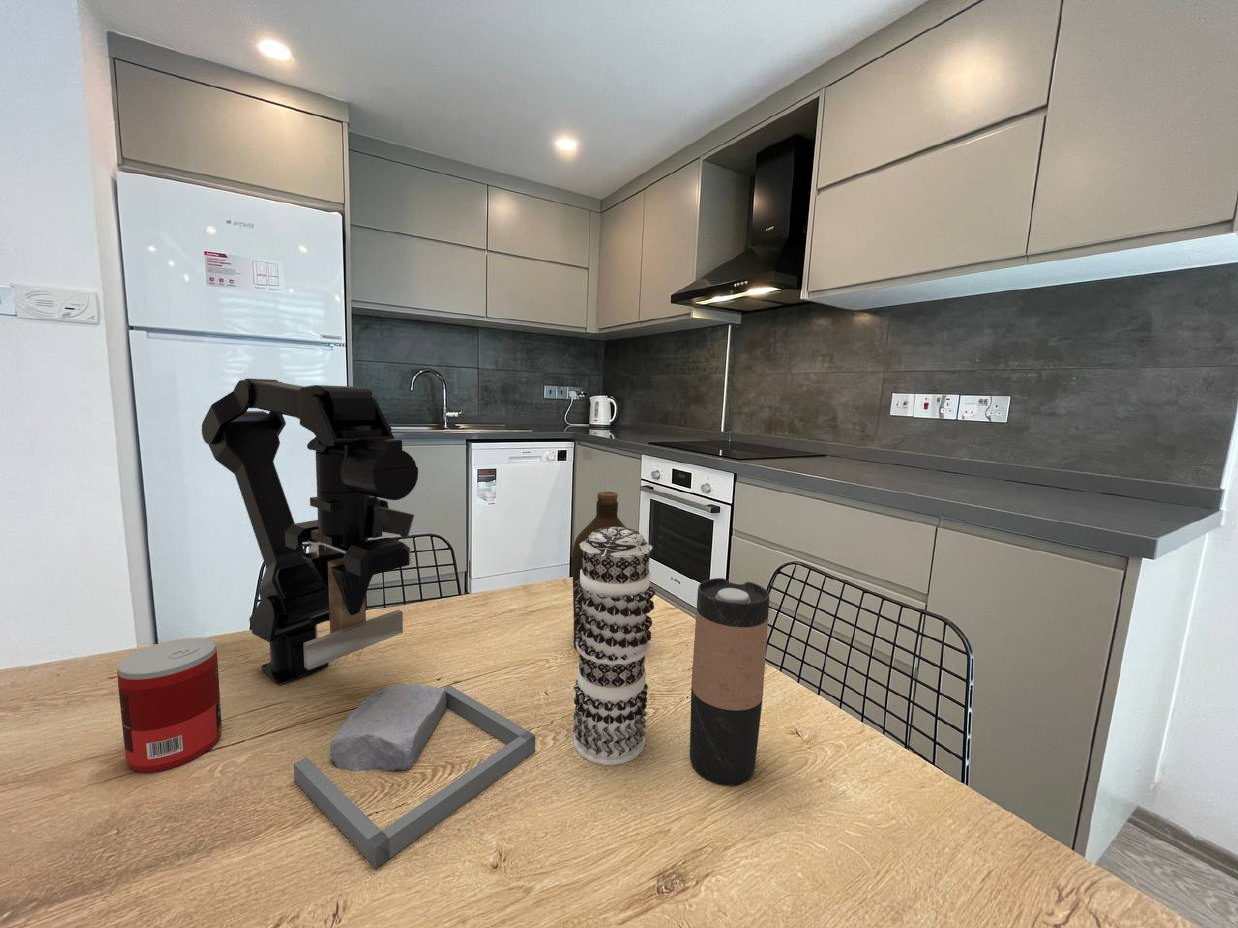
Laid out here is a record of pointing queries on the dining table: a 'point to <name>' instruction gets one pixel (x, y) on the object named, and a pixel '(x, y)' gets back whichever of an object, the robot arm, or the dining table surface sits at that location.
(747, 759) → the travel mug
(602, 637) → the decorative candle
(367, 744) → the stone block
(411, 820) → the frame
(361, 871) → the dining table surface
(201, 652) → the canned food
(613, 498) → the olive oil
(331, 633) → the block
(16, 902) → the dining table surface
